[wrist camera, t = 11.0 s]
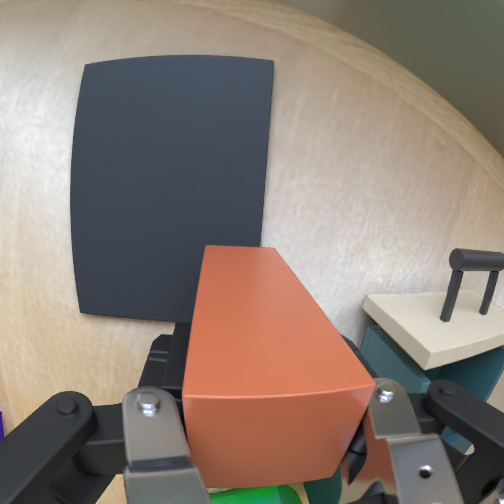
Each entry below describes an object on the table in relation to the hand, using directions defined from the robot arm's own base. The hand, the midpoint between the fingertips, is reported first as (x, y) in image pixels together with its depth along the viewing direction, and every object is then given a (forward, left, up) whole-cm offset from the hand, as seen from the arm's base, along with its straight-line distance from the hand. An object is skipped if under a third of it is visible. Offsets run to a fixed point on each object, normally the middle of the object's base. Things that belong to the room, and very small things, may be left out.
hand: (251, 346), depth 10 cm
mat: (-5, -5, -9) cm, 12 cm away
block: (0, 0, -7) cm, 7 cm away
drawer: (+6, +16, -9) cm, 19 cm away
